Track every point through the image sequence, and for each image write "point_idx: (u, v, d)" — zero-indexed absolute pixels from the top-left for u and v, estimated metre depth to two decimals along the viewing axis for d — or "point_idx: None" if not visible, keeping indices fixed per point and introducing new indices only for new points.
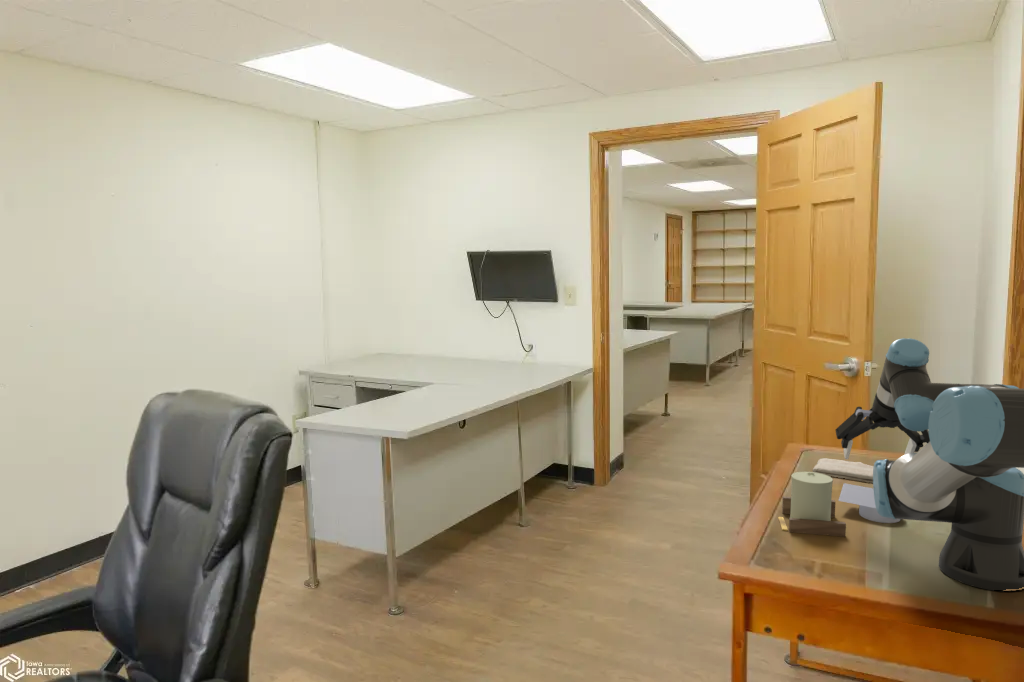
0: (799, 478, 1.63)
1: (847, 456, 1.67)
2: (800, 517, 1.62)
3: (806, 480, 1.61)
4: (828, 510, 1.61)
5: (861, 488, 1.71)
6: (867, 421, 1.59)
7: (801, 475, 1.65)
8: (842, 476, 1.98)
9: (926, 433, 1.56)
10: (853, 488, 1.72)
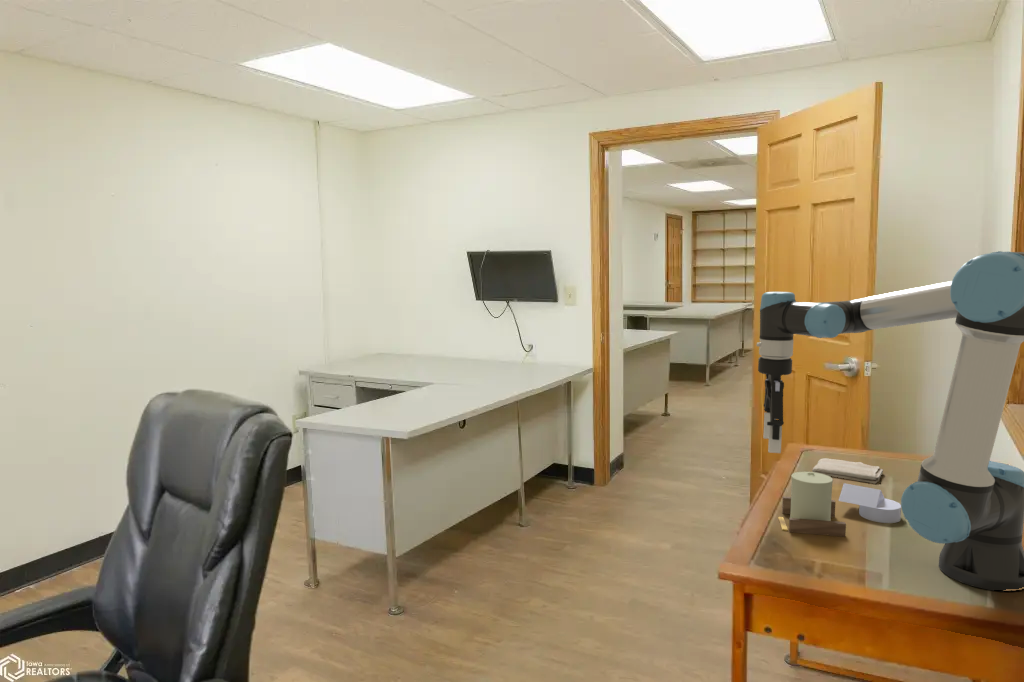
0: (799, 478, 1.63)
1: (780, 448, 1.59)
2: (800, 517, 1.62)
3: (806, 480, 1.61)
4: (828, 510, 1.61)
5: (861, 488, 1.71)
6: None
7: (801, 475, 1.65)
8: (842, 476, 1.98)
9: None
10: (853, 488, 1.71)
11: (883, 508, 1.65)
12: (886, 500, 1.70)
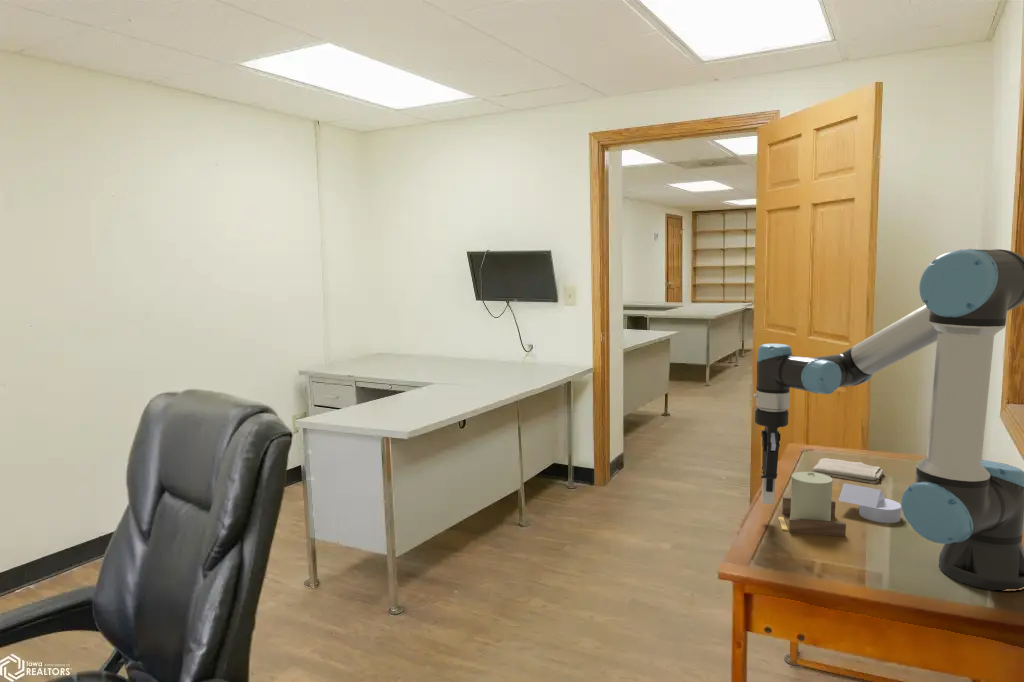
0: (799, 478, 1.63)
1: None
2: (800, 517, 1.62)
3: (806, 480, 1.61)
4: (828, 510, 1.61)
5: (861, 488, 1.71)
6: None
7: (801, 475, 1.65)
8: (841, 476, 1.98)
9: None
10: (853, 488, 1.71)
11: (883, 508, 1.65)
12: (886, 500, 1.70)
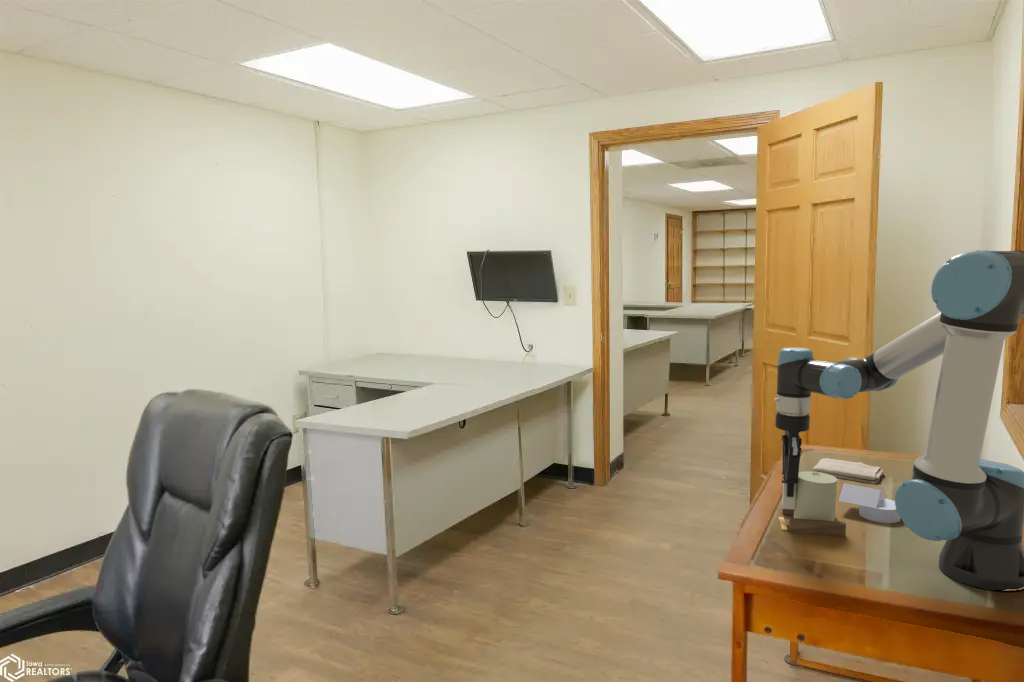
0: (804, 477, 1.63)
1: (794, 504, 1.65)
2: (804, 516, 1.62)
3: (811, 480, 1.61)
4: (832, 510, 1.60)
5: (861, 488, 1.71)
6: None
7: (806, 474, 1.65)
8: (841, 476, 1.98)
9: None
10: (853, 488, 1.71)
11: (883, 508, 1.65)
12: (886, 500, 1.70)
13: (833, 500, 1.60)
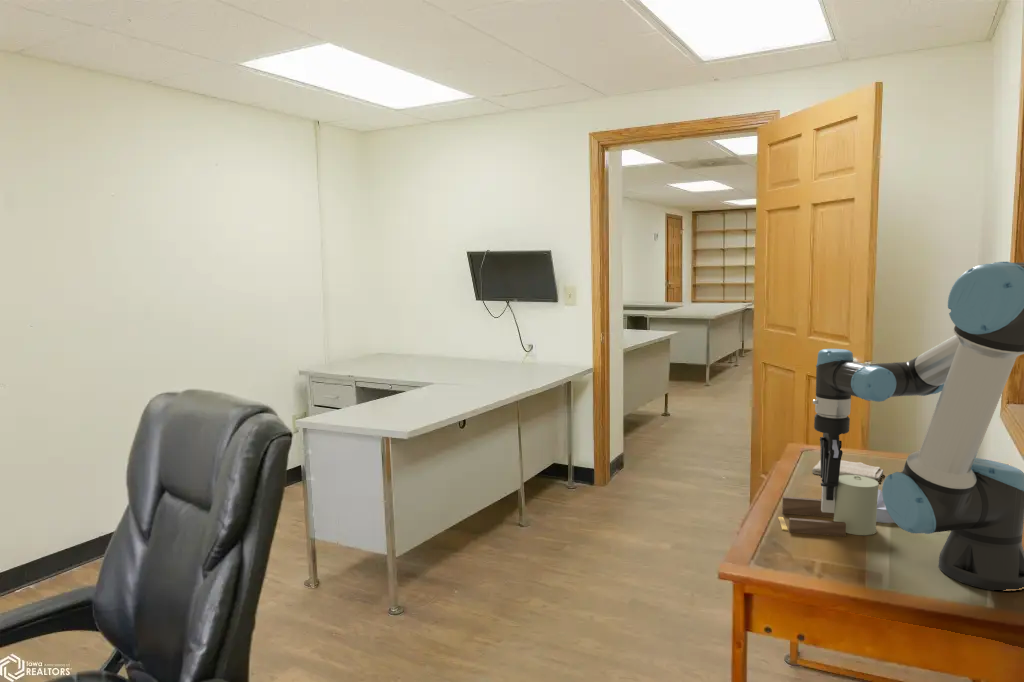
0: (843, 481, 1.60)
1: None
2: (842, 520, 1.59)
3: (849, 483, 1.59)
4: (872, 515, 1.57)
5: None
6: None
7: (846, 478, 1.62)
8: None
9: None
10: None
11: (883, 508, 1.65)
12: None
13: (873, 505, 1.57)
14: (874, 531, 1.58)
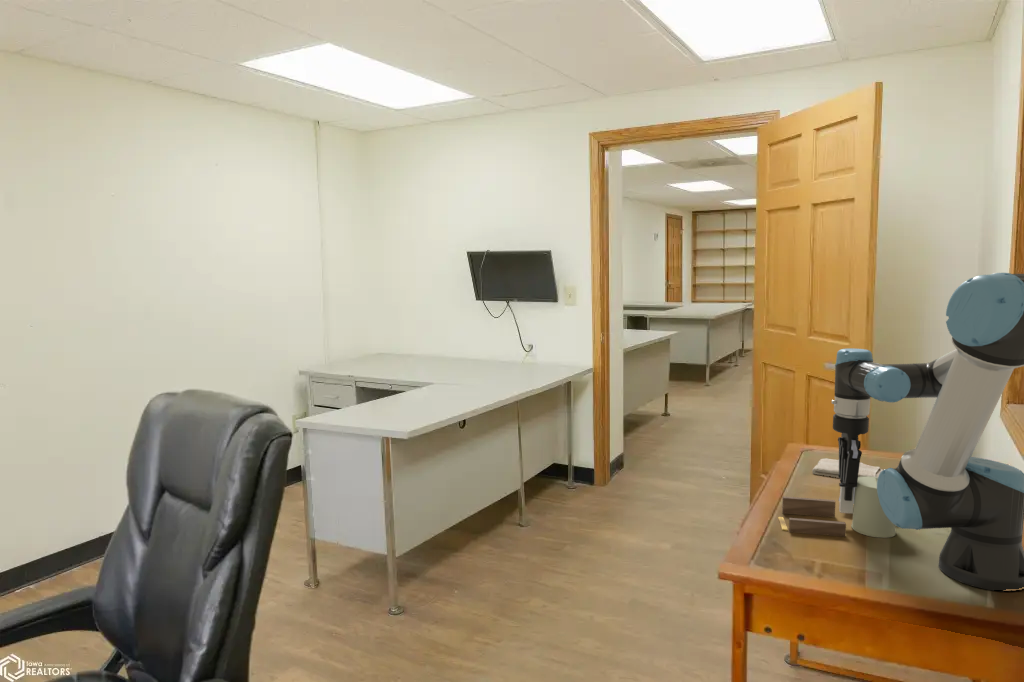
0: (861, 482, 1.59)
1: None
2: (858, 521, 1.59)
3: (867, 484, 1.58)
4: None
5: None
6: None
7: (867, 479, 1.61)
8: None
9: None
10: None
11: None
12: None
13: None
14: (892, 534, 1.56)
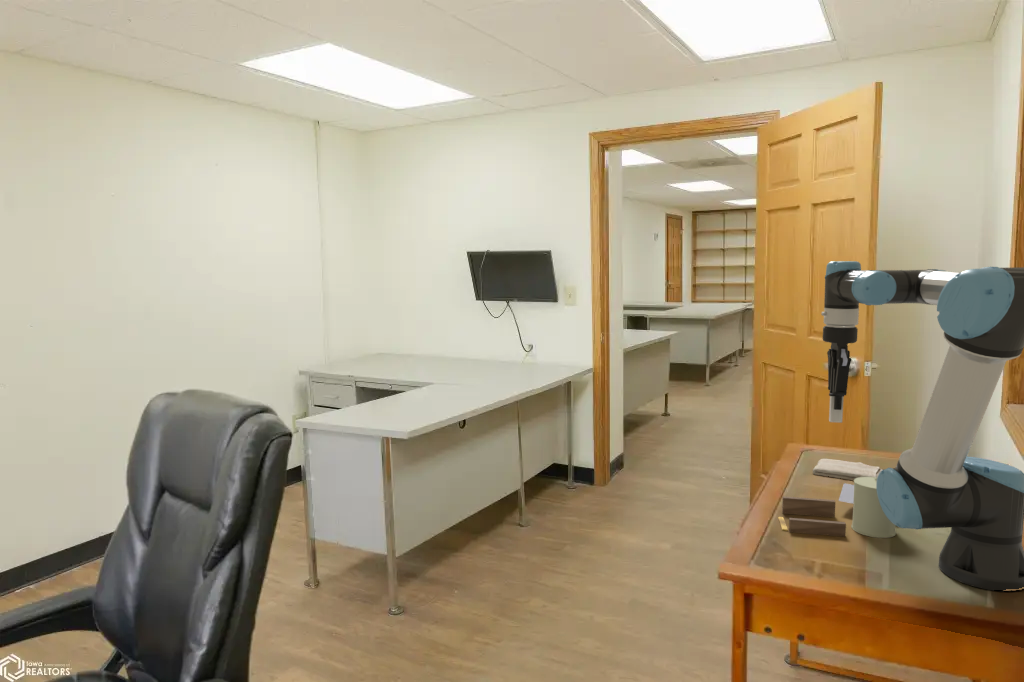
0: (860, 482, 1.59)
1: None
2: (858, 521, 1.59)
3: (866, 484, 1.58)
4: None
5: None
6: None
7: (866, 480, 1.61)
8: (842, 476, 1.98)
9: None
10: (853, 488, 1.71)
11: None
12: None
13: None
14: (892, 534, 1.56)
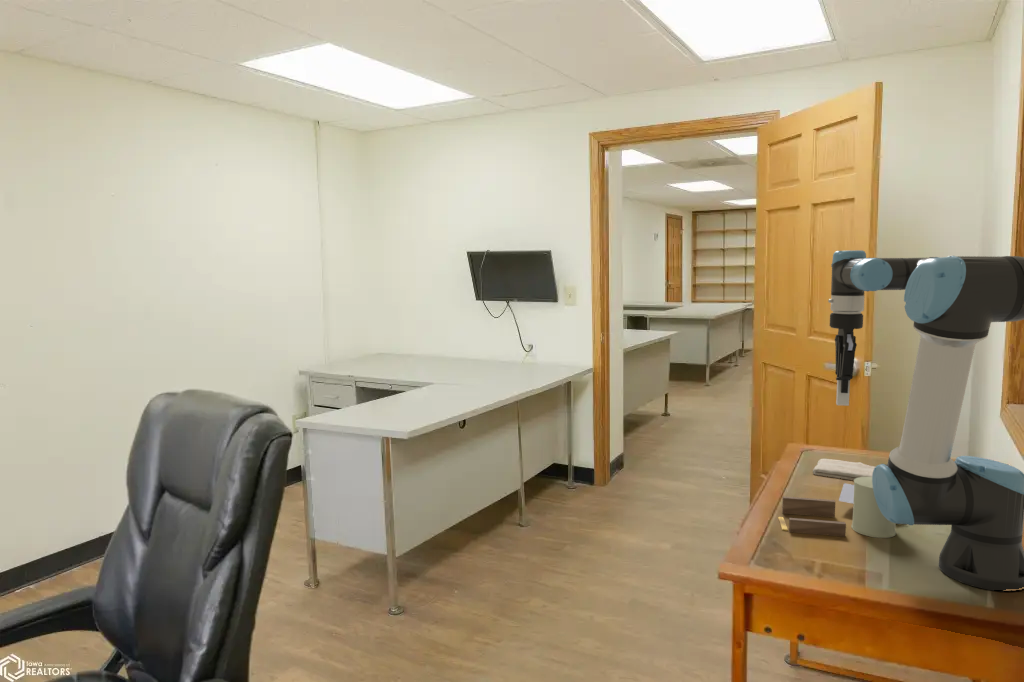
0: (860, 482, 1.59)
1: None
2: (858, 521, 1.59)
3: (866, 484, 1.58)
4: None
5: None
6: None
7: (866, 480, 1.61)
8: (843, 477, 1.98)
9: None
10: (853, 488, 1.71)
11: None
12: None
13: None
14: (892, 534, 1.56)
